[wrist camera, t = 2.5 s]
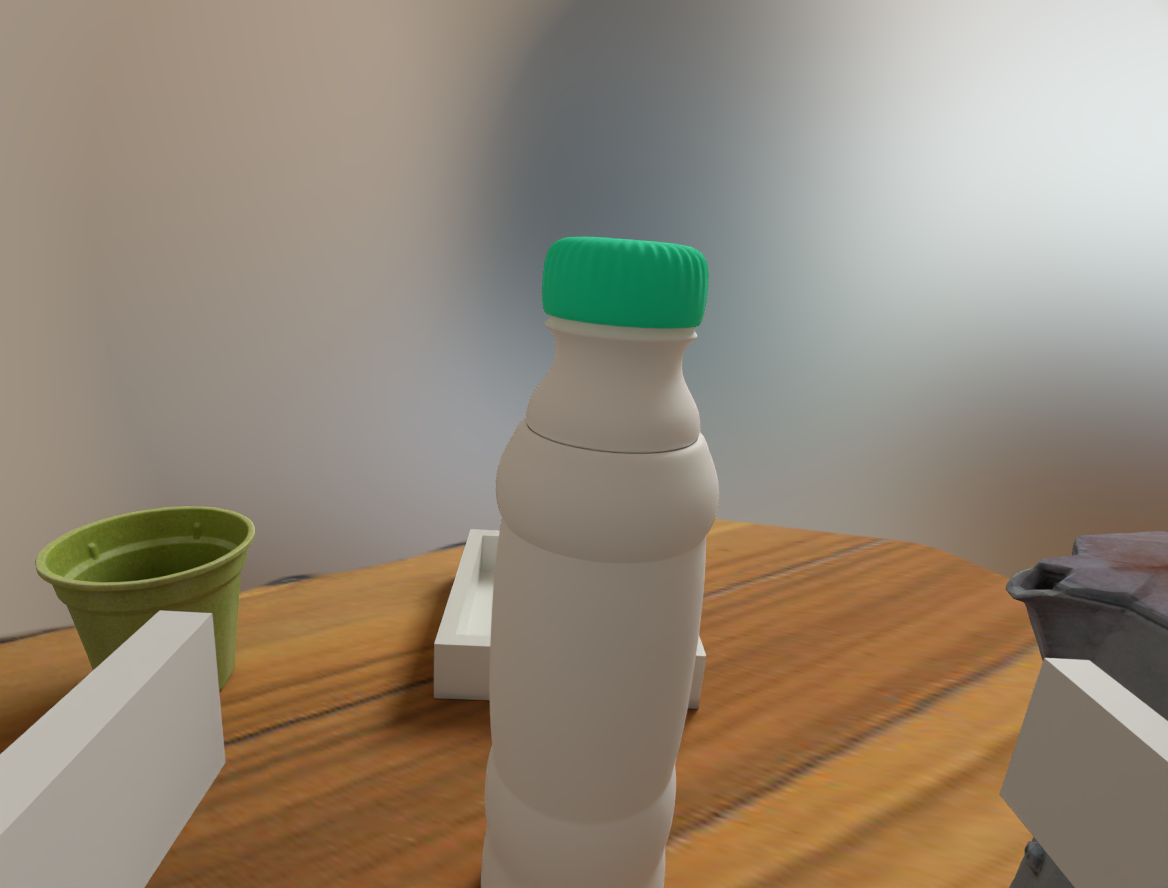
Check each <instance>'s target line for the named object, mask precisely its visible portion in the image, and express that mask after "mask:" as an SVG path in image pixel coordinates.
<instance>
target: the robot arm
mask: <svg viewBox="0 0 1168 888" xmlns="http://www.w3.org/2000/svg"><path fill="white" fill-rule="evenodd" d="M224 764H225V752H224V741H223V729H222V718H221V706H220V695H219V684H218V672H217V661H216V649H215V638H214V626H213V615H212V613H198V612H180V611H161V610H160V611H159V612H158V613H156V614H155V615H154V616H153V617H152V618H151V619H150V620H149V621H148V622H146V623H145V624H144V625H143V626H142V627H141V628H140V629H139V630H138V631H136V632H135V633H134V634H133V635H132V636H131V637H130V638H129V639H128V640H126V641H125V642H124V643H123V644H122V645H121V646H120V647H119V648H118V649H117V650H115V651H114V652H113V653H112V654H111V655H110V656H109V657H108V658H107V659H105V660H104V661H103V662H102V663H101V664H100V665H99V666H98V667H97V668H95V669H94V670H93V671H92V672H91V673H90V674H89V675H88V676H87V677H86V678H84V679H83V680H82V681H81V682H80V683H79V684H78V685H77V686H76V687H74V688H73V689H72V690H71V691H70V692H69V693H68V694H67V695H66V696H64V697H63V698H62V699H61V700H60V701H59V702H58V703H57V704H56V705H55V706H53V707H52V708H51V709H50V710H49V711H48V712H47V713H46V714H45V715H43V716H42V717H41V718H40V719H39V720H38V721H37V722H36V723H35V724H33V725H32V726H31V727H30V728H29V729H28V730H27V731H26V732H25V733H24V734H22V735H21V736H20V737H19V738H18V739H17V740H16V741H15V742H14V743H12V744H11V745H10V746H9V747H8V748H7V749H6V750H5V751H4V752H2V753H1V754H0V888H144V887H145V886H146V884H147V883H148V881H149V880H150V878H151V876H152V875H153V873H154V872H155V870H156V869H157V867H158V866H159V864H160V863H161V861H162V860H163V858H164V857H165V855H166V853H167V852H168V850H169V849H170V847H171V846H172V844H173V843H174V841H175V840H176V838H177V837H178V835H179V833H180V832H181V830H182V829H183V827H184V826H185V824H186V823H187V821H188V820H189V818H190V817H191V815H192V813H193V812H194V810H195V809H196V807H197V806H198V804H199V803H200V801H201V800H202V798H203V797H204V795H205V794H206V792H207V790H208V789H209V787H210V786H211V784H212V783H213V781H214V780H215V778H216V777H217V775H218V774H219V772H220V770H221V769H222V767H223V766H224ZM1000 796H1001V797H1002V798H1003V799H1004V800H1005V802H1006V803H1007V804H1008V805H1009V807H1010V808H1011V809H1012V810H1013V812H1014V813H1015V814H1016V815H1017V817H1018V818H1019V819H1020V820H1021V822H1022V823H1023V824H1024V825H1025V827H1026V828H1027V829H1028V830H1029V831H1030V833H1031V834H1032V835H1033V836H1034V838H1035V839H1036V840H1037V841H1038V843H1039V844H1040V845H1041V846H1042V848H1043V849H1044V850H1045V851H1046V853H1047V854H1048V855H1049V856H1050V857H1051V859H1052V860H1053V861H1054V862H1055V864H1056V865H1057V866H1058V867H1059V869H1060V870H1061V871H1062V872H1063V874H1064V875H1065V876H1066V877H1067V879H1068V880H1069V881H1070V882H1071V884H1072V885H1073V886H1074V887H1075V888H1168V721H1167V720H1166V719H1164V718H1163V717H1162V716H1160V715H1159V714H1158V713H1157V712H1155V711H1154V710H1153V709H1151V708H1150V707H1149V706H1148V705H1146V704H1145V703H1144V702H1142V701H1141V700H1140V699H1139V698H1137V697H1136V696H1135V695H1133V694H1132V693H1131V692H1130V691H1128V690H1127V689H1126V688H1124V687H1123V686H1122V685H1121V684H1119V683H1118V682H1117V681H1115V680H1114V679H1113V678H1112V677H1110V676H1109V675H1108V674H1106V673H1105V672H1104V671H1102V670H1101V669H1100V668H1099V667H1097V666H1096V665H1095V664H1093V663H1092V662H1091V661H1090V660H1076V659H1058V658H1044V660H1043V663H1042V666H1041V669H1040V673H1039V676H1038V679H1037V682H1036V685H1035V688H1034V691H1033V694H1032V697H1031V700H1030V703H1029V706H1028V709H1027V712H1026V715H1025V718H1024V721H1023V724H1022V727H1021V730H1020V733H1019V736H1018V740H1017V743H1016V746H1015V749H1014V752H1013V755H1012V758H1011V761H1010V764H1009V767H1008V770H1007V773H1006V776H1005V779H1004V782H1003V785H1002V788H1001V791H1000Z"/></svg>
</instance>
